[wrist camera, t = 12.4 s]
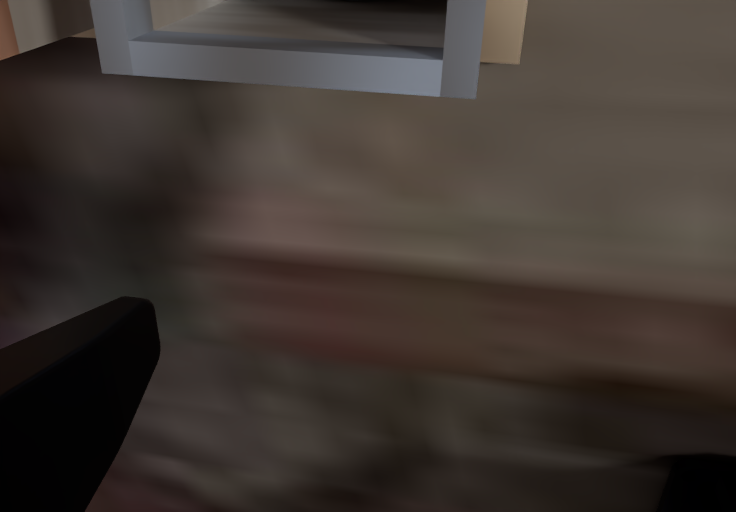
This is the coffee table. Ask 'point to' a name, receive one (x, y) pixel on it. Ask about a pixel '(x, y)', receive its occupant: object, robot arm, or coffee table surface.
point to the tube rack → (284, 40)
